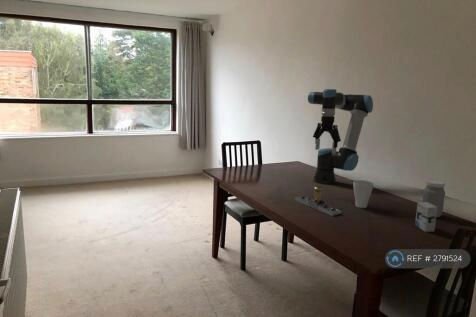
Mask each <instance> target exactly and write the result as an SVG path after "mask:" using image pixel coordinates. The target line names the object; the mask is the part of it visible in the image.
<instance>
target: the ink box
mask: <svg viewBox="0 0 476 317" xmlns="http://www.w3.org/2000/svg"><path fill="white" fill-rule="evenodd" d="M437 209H438V208H437V207H436V206H434V205H432V204H430V203H428V202H422V201H418V202H417V205H416V211H415V212H416V214H415V221H414V226H416V227H417V228H419V229H420V230H422V231H423V232H426V233H427V232H429V233H430V232H431V233H432V232H433V233H434V232H435V231H436V230H435V229H436V223H437V218H436V216H437Z"/></svg>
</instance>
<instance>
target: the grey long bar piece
mask: <svg viewBox="0 0 476 317" xmlns="http://www.w3.org/2000/svg"><path fill="white" fill-rule="evenodd" d="M294 199H295V200H294V201H296V202H298V203H301V204H303V205H305V206H307V207H310V208H312V209H315V210H317V211H318V212H319V211H320V212H322V213H324V214H326V215H329V216H331V217H334V216H338V214H339V215H341V212H342V211H341V209H338V208H335V207H333V206H331V205H328V204H326V203H327V202H326V200H323V199H321V198H320V205H318V203H317V202H314V199H313V198H310V197H308V196H306V195H298V196H295V197H294Z"/></svg>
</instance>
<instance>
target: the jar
mask: <svg viewBox="0 0 476 317" xmlns="http://www.w3.org/2000/svg"><path fill="white" fill-rule="evenodd" d="M445 185H446V182H444V181H441V180H437V179H436V180H435V179H427V180H426V182H425V188H424V189H423V194H422V201H421V202H428V203H430V204H432V205H434V206H436V207H437V208H438V209H437V216H436V219H437V218H440V217H441V216H443V210H444V205H445V198H446V191H445Z"/></svg>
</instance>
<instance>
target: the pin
mask: <svg viewBox="0 0 476 317" xmlns="http://www.w3.org/2000/svg"><path fill="white" fill-rule="evenodd" d="M312 189H313V190H314V199H313V200H314V202H317V203H318V205H320V199H321V194H322V191H323V187H322V186H318V185H317V186H316V185H315V186H313V188H312Z"/></svg>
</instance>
